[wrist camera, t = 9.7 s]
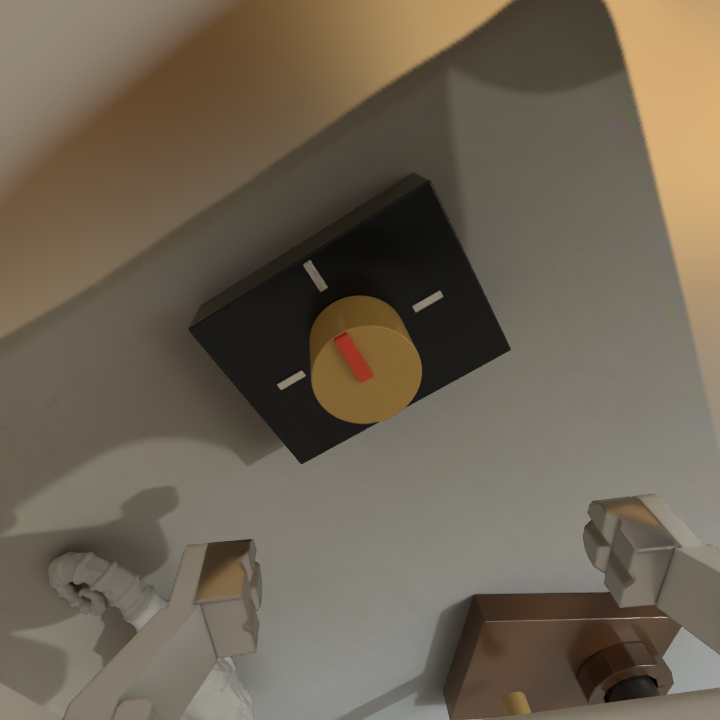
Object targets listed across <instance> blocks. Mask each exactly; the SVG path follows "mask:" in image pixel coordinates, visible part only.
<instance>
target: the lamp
mask: <svg viewBox="0 0 720 720" xmlns="http://www.w3.org/2000/svg"><path fill="white" fill-rule="evenodd" d="M501 704H502V707H503V709H504V712H505V715H506V716H513V715H520V714H527V713H532V712H531V710H530V707H529V704H528V702H527V699H526V697H525V695H524V694H523V693H522V692H511V693H508V694H506V695H505V696H504V697H503V698H502V700H501Z"/></svg>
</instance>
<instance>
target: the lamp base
mask: <svg viewBox="0 0 720 720" xmlns="http://www.w3.org/2000/svg"><path fill="white" fill-rule="evenodd" d="M656 605H657V604H656ZM656 605H645V606H634V607H624V608H620V607H619V606H618V604H617V603H616V601H615V599H614V598H613V596H612V595H611V593H557V594H493V595H474V598H473V601H472V604H471V607H470V610H469V614H468V617H467V620H466V623H465V626H464V629H463V632H462V635H461V638H460V641H459V644H458V648H457V651H456V654H455V657H454V660H453V663H452V666H451V669H450V672H449V675H448V678H447V682H446V685H445V688H444V691H443V694H444V698H445V702H446V706H447V710H448V714H449V718H450V720H466V719H484V718H498V717H505V716H506V715H505V712H504V709H503V707H502V704H501V700H502V698H503V697H504V696H505V695H506V694H508V693H511V692H522V693H523V694H524V695H525V697H526V699H527V702H528V704H529V707H530V710H531V712H532V713H535V712H542V711H550V710H557V709H565V708H572V707H580V706H587V705H595V704H602V703H609V701H608V699H607V697H606V693H607V691H608V689H609V688H611V687H612V686H614V685H615V684H616V683H618V682H619V681H621V680H624V679H627V678H630V677H633V676H640V675H648V676H649V677H650V678H651V680H652V681H653V683H654V684H655V686H656V688H657V689H658V691H659V692H660V694H661V696H662V695H666V694H667V693H668V691H669V690H670V688H671V687H672V685H673V684H674V682H673V677H672V672H671V670H670V669H669V667H668V666H667V664H666V663H665V661H664V660H663V658H662V657H663V656H664V654H665V652H666V651H667V649H668V647H669V646H670V644H671V643H672V641H673V639H674V638H675V636H676V634H677V633H678V631H679V630H680V628H681V625H680V624H678V623H677V622H676V621H674V620H673V619H672V618H670V617H669V616H668V615H667V614H665V613H664V612H663V611H661V610H660V609H659V608H657V607H656Z"/></svg>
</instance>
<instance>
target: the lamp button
mask: <svg viewBox="0 0 720 720" xmlns="http://www.w3.org/2000/svg"><path fill="white" fill-rule="evenodd" d="M654 696H661V694H660V692H659V691H658V689H657V688H656V686H655V684H654V683H653V681H652V680H651V678H650V677H649V676H648V675H640V676H633V677H630V678H627V679H624V680H621V681H619V682H618V683H616V684H615V685H614V686H612V687H611V688H609V689H608V691H607V693H606V697H607V699H608V701H609V702H617V701H624V700H632V699H639V698H647V697H654Z"/></svg>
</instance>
